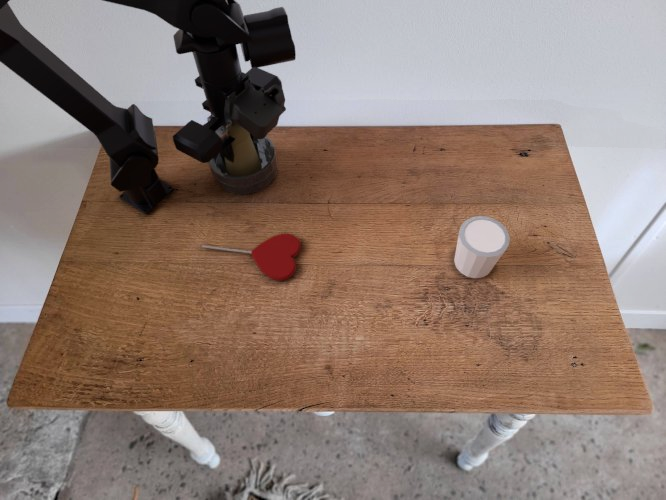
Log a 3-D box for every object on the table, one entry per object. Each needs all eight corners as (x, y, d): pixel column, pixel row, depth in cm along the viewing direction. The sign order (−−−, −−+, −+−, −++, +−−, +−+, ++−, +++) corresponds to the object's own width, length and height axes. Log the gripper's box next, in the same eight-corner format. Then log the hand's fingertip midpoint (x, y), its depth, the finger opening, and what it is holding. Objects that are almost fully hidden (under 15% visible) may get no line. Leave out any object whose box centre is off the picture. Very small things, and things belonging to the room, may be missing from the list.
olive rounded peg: (219, 175, 81) (204, 126, 72) (236, 151, 84) (224, 101, 75) (251, 186, 80) (240, 137, 71) (267, 161, 83) (258, 110, 74)
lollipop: (194, 270, 72) (292, 283, 71) (193, 267, 71) (292, 280, 70) (210, 226, 77) (303, 238, 75) (209, 223, 76) (302, 234, 74)
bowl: (200, 179, 82) (193, 160, 78) (241, 140, 87) (236, 121, 83) (251, 206, 79) (246, 188, 75) (290, 164, 84) (288, 145, 80)
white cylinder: (501, 252, 73) (515, 224, 67) (489, 288, 70) (503, 263, 64) (457, 236, 75) (467, 209, 69) (443, 272, 71) (452, 245, 65)
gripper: (220, 134, 59) (242, 212, 72) (307, 54, 68) (313, 137, 81) (154, 101, 63) (187, 181, 76) (245, 29, 71) (260, 112, 84)
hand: (240, 152), depth 79 cm, fingers closed on olive rounded peg, 4 cm apart
